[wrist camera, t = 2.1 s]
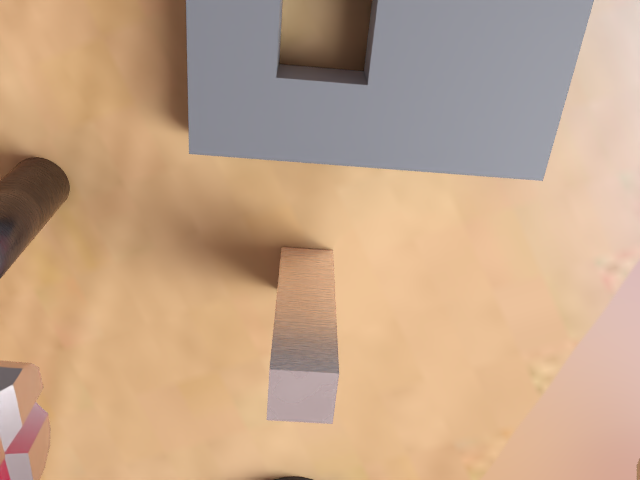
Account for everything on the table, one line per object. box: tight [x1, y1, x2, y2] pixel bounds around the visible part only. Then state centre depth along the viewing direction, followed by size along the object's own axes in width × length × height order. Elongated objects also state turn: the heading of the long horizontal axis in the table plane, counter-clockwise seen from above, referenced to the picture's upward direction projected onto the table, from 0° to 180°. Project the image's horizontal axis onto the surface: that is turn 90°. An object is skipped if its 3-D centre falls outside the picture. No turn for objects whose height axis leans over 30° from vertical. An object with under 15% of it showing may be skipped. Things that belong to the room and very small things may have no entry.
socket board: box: [186, 0, 594, 181], centre depth 32 cm, size 20×14×3 cm
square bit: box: [267, 247, 339, 424], centre depth 36 cm, size 3×3×12 cm
